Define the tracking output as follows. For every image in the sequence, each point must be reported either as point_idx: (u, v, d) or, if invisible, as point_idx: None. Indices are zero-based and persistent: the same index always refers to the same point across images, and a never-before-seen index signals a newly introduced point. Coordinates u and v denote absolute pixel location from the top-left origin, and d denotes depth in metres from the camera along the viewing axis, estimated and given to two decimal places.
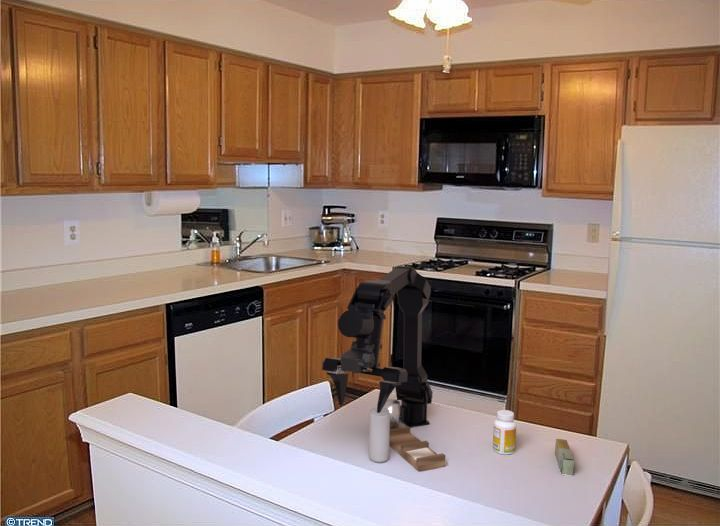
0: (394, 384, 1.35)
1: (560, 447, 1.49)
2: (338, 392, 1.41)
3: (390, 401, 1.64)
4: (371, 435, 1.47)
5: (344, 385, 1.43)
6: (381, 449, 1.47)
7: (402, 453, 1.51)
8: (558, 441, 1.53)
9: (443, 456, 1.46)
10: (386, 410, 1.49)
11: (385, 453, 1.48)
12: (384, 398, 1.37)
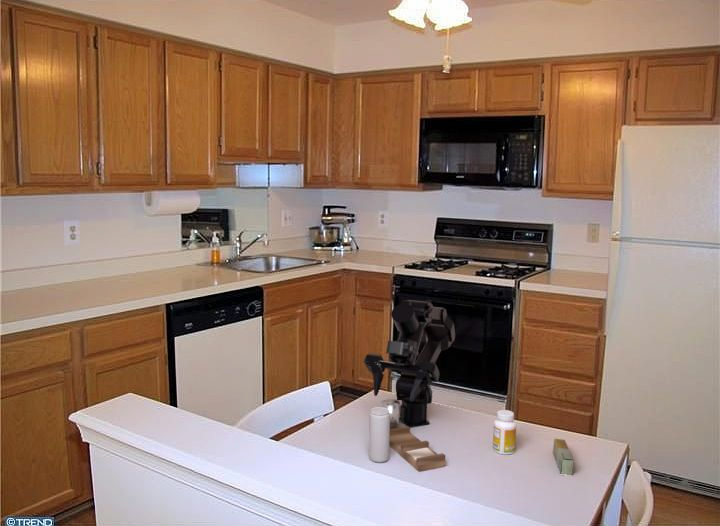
0: (429, 375, 1.55)
1: (559, 447, 1.49)
2: (375, 382, 1.58)
3: (390, 401, 1.64)
4: (371, 435, 1.47)
5: (380, 381, 1.60)
6: (381, 449, 1.47)
7: (402, 453, 1.51)
8: (556, 441, 1.53)
9: (443, 456, 1.46)
10: (386, 410, 1.49)
11: (385, 453, 1.48)
12: (417, 388, 1.54)
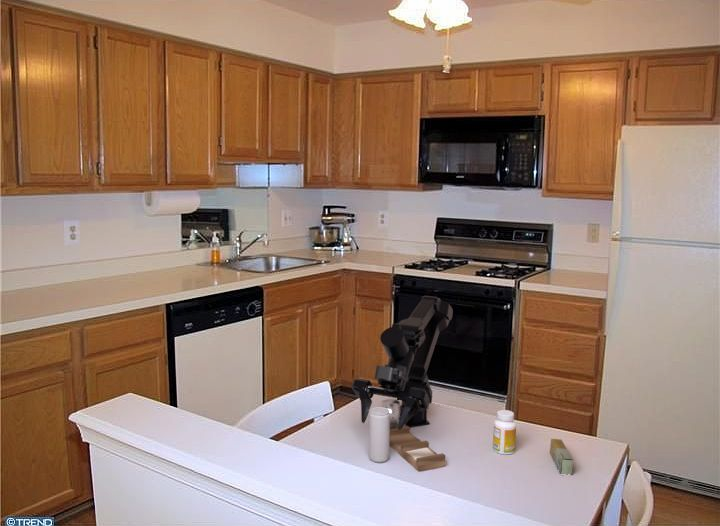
0: (418, 402, 1.49)
1: (557, 447, 1.49)
2: (363, 409, 1.52)
3: (390, 401, 1.64)
4: (371, 435, 1.47)
5: (368, 407, 1.54)
6: (381, 449, 1.47)
7: (402, 453, 1.51)
8: (554, 441, 1.53)
9: (443, 456, 1.46)
10: (386, 410, 1.49)
11: (385, 453, 1.48)
12: (406, 416, 1.48)
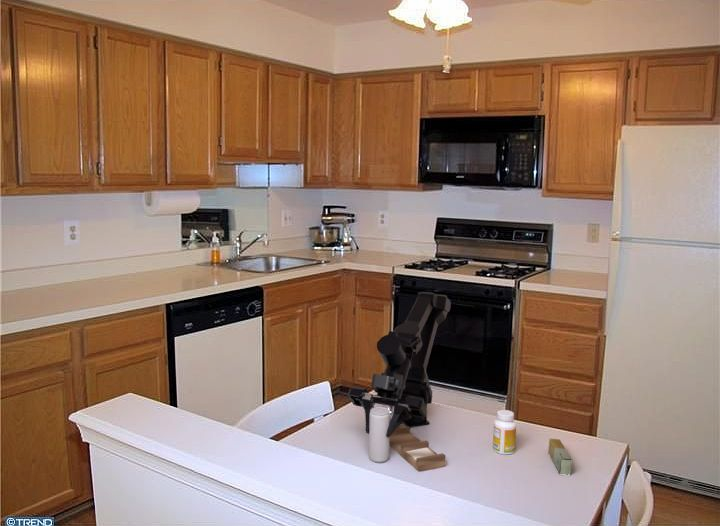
0: (407, 410, 1.48)
1: (555, 447, 1.49)
2: (367, 419, 1.50)
3: None
4: (371, 435, 1.47)
5: None
6: (381, 449, 1.47)
7: (402, 453, 1.51)
8: (552, 441, 1.53)
9: (443, 456, 1.46)
10: (386, 410, 1.49)
11: (385, 453, 1.48)
12: (395, 423, 1.48)
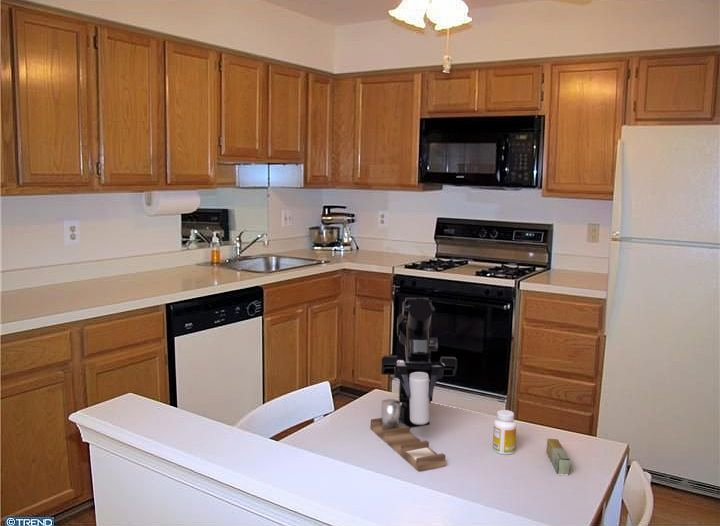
0: (443, 370, 1.56)
1: (553, 447, 1.49)
2: (406, 384, 1.54)
3: (390, 401, 1.64)
4: (415, 399, 1.53)
5: None
6: (425, 411, 1.53)
7: (402, 453, 1.51)
8: (550, 441, 1.53)
9: (443, 456, 1.46)
10: (423, 373, 1.55)
11: (428, 414, 1.54)
12: (434, 384, 1.55)
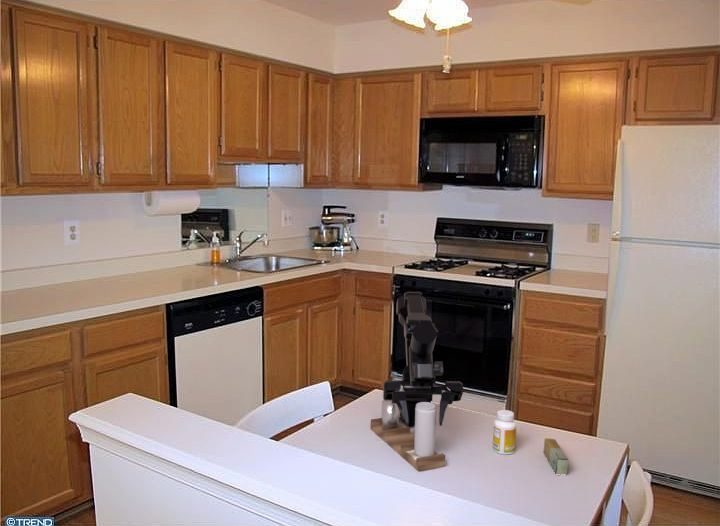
0: (454, 395, 1.49)
1: (551, 447, 1.49)
2: (405, 411, 1.47)
3: (390, 401, 1.64)
4: (420, 431, 1.46)
5: None
6: (431, 443, 1.47)
7: (402, 453, 1.51)
8: (547, 441, 1.53)
9: (443, 456, 1.46)
10: (430, 404, 1.48)
11: (434, 447, 1.48)
12: (444, 410, 1.48)
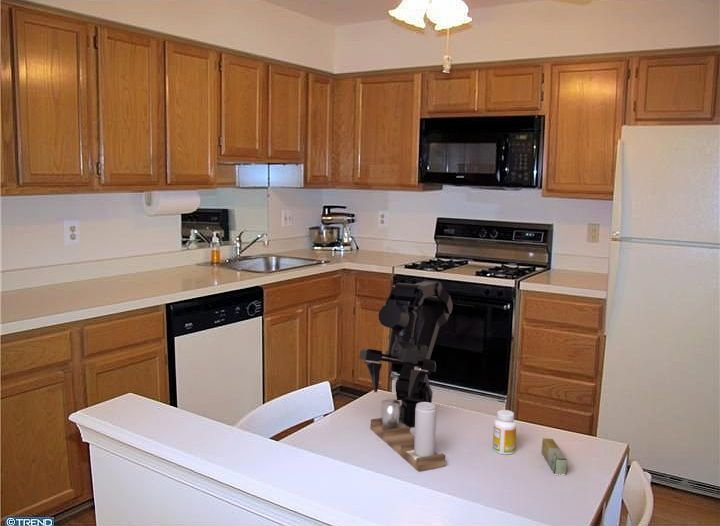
0: None
1: (549, 447, 1.49)
2: (376, 380, 1.55)
3: (390, 401, 1.64)
4: (421, 431, 1.46)
5: None
6: (431, 443, 1.47)
7: (402, 453, 1.51)
8: (545, 441, 1.53)
9: (443, 456, 1.46)
10: (430, 404, 1.48)
11: (434, 447, 1.48)
12: None
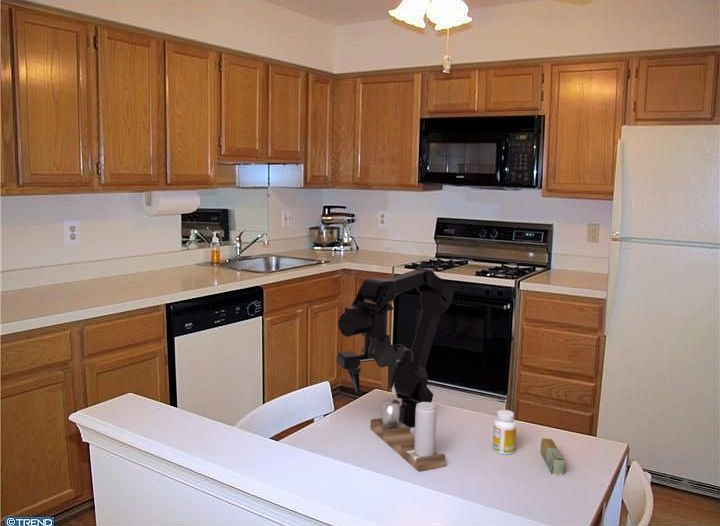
0: None
1: (548, 447, 1.49)
2: (357, 382, 1.56)
3: (390, 401, 1.64)
4: (421, 431, 1.46)
5: None
6: (431, 443, 1.47)
7: (402, 453, 1.51)
8: (544, 441, 1.53)
9: (443, 456, 1.46)
10: (430, 404, 1.48)
11: (434, 447, 1.48)
12: None
